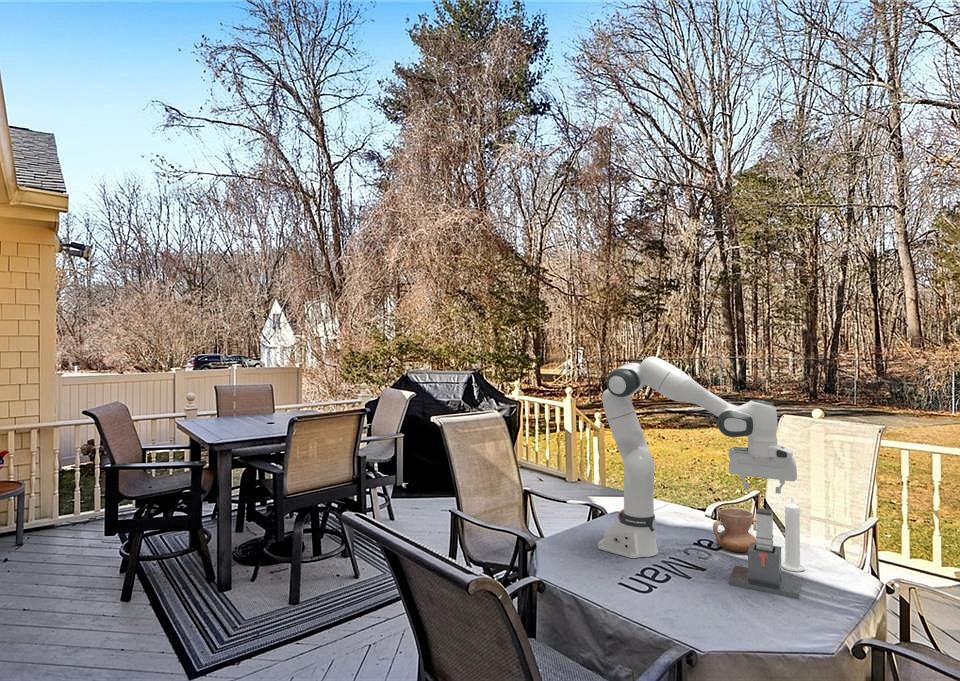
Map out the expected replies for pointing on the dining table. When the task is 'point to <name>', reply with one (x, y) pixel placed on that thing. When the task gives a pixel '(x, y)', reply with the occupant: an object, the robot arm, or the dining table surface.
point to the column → (764, 530)
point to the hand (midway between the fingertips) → (762, 491)
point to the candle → (792, 538)
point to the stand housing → (765, 574)
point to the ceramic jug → (734, 529)
